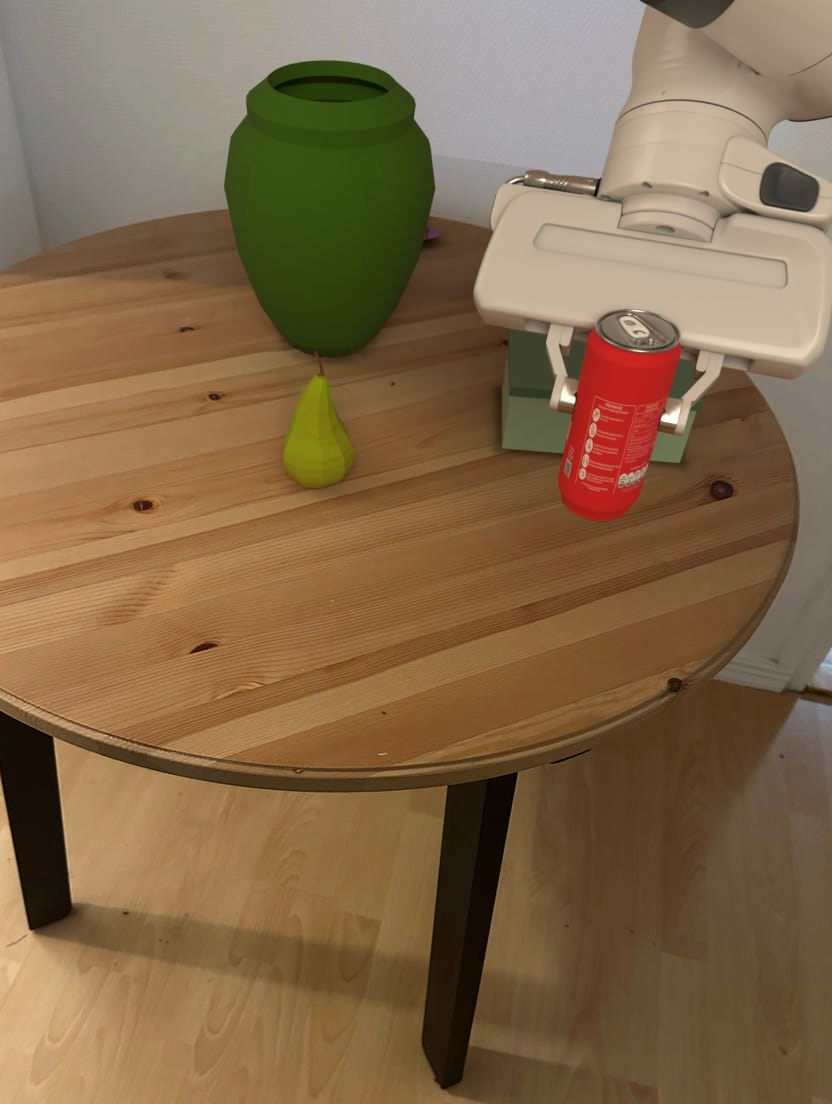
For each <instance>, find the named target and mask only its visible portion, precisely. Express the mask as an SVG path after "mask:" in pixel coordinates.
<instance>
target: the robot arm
mask: <svg viewBox="0 0 832 1104" xmlns="http://www.w3.org/2000/svg"><path fill="white" fill-rule="evenodd" d="M639 2H641V3H642V4H645V5H646V6H645V8H644V11H643V16H642V19H641V23H640V26H639V30H638V33H637V37H636V40H635V45H634V48H633V53H632V59H631V87H630V92H629V94H628V97H627V99H626V101H625V103H624V105H623V106H622V108H621V109H620V111H619V113H618V116H617V118H616V120H615V123H614V126H613V127H614V128H613V131H612V135H611V139H610V143H609V146H608V150H607V155H606V158H605V161H604V166H603V170H602V174H601V175H602V176H601V177H599V178H595V177H587V176H581V175H572V174H565V175H564V174H555V173H549V172H548V171H546V170H541V169H528V170H526V171H525V173H524V174H522V175H516V176H514V177H511V178H509V179H508V180H506V181H505V182H504V183H502V184H501V185H500V187H499V188H498V189H497V191H496V194H495V195H494V199H493V203H492V207H491V212H490V215H489V219H488V220H489V224H488V225H489V230H490V232H491V237H490V239H489V242H488V244H487V247H486V249H485V252H484V255H483V258H482V260H481V264H480V266H479V269H478V272H477V275H476V276H477V277H476V279H475V282H474V286H473V295H472V296H473V302H474V306H475V308H476V310H477V313H478V314H479V316H480V318H481V320H482V321H483V323H485V324H486V325H488V326H489V325H490V326H495V327H500V328H506V329H509V328H510V329H515V330H521V331H526V332H532V333H537V334H542V335H548V336H547V340H546V351H547V356H548V360H549V363H550V366H551V370H552V373H553V377H554V380H555V384H554V388H553V392H552V396H551V400H550V410H553V411H558V412H563V413H568V414H572V413H573V411H574V407H575V402H576V397H575V396H576V393H577V389H578V383H579V380H578V379H574V378H569V377H568V376H567V372H566V369H565V365H564V362H563V358H562V356H569V354H570V350H571V347H572V343H573V340H575V341H580V342H586V343H587V340H588V335H589V334H590V332H591V331H592V330H593V329H594V328H595V323H596V321H597V320H598V319H599V318H600V317H601V316H602V315H604V314H606V313H608V312H611V311H615V310H621V309H636V310H644V311H648V312H652V313H656V314H658V315H661V316H663V317H665V318H667V319H669V320H670V321H672V322H673V323H674V324H675V325H676V326H677V327H678V328H679V330H680V333H681V339H680V345H681V355H680V359H679V360H684V361H689V362H693V363H694V364H693V366H694V369H693V373H692V377H691V378H692V380H695V381H697V382H696V383H695V384H694V385H693V386H692V387H691V388H690V389H689V390H688V391H687V393H686V394H685V395H684V396H683V397H682V398H681V399H679V398H673V397H668V400H667V403H666V406H665V408H664V414H662V416H661V419H660V423H659V426H658V431H659V432H664V433H668V434H673V435H678V436H682V434H683V432H684V429H685V426H686V422H687V418H688V415H689V411H690V408H692V407H693V406H694V405H695V404H696V403H697V401H698V400H699V399H700V398H701V397H702V398H703V397H704V395H706V393H707V392H709V390H710V389H711V388H712V387H713V386H714V385H715V384H716V382H717V380H718V378H719V376H720V374H721V371H722V368H723V369H728V370H733V371H739V372H744V373H750V374H755V375H759V376H760V375H761V376H766V377H770V378H771V377H772V378H777V379H781V380H782V379H783V380H787V381H792V380H797V379H798V378H800V377H801V376H802V375H804V374H806V373H807V372H809V371H810V370H811V369H812V368H813V367H814V366H816V365H817V363H818V362H819V360H820V359H821V358H822V356H823V353H824V350H825V347H826V344H827V342H828V341H827V340H828V338H829V337H828V336H829V332H830V327H831V322H832V240H831V238H830V237H829V236H828V232H829V230H830V228H831V226H832V181H831V180H829V179H828V178H826V177H824V176H821V175H819V174H817V173H815V172H813V171H811V170H809V169H807V168H805V167H803V166H800V165H798V164H797V163H795V162H793V161H791V160H789V159H787V158H785V157H783V156H782V155H779V154H778V153H775V152H774V151H772V150H771V149H769V148H768V145H769V140H770V135H771V132H772V130H773V129H774V128H775V127H776V126H777V125H778V124H779V123H781V122H784V121H789V122H792V123H806V122H814V121H821V120H826V119H830V118H832V0H639ZM521 184H522V185H521Z"/></svg>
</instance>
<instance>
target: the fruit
mask: <svg viewBox="0 0 832 1104" xmlns="http://www.w3.org/2000/svg"><path fill="white" fill-rule="evenodd" d="M314 354H315V355H314V356H315V358H316V361H317V364H318V367H319V372H317V373H315V374H314V375H313V376H312V378H311V379H310V381H309V382H308V384H307V385H305V387H304V389H302V391H301V393H300V395H299V397H298V399H297V401H296V404H295V405H294V409H293V412H292V415H291V419H290V423H289V426H288V429H287V432H286V434H285V436H284V438H283V442H282V462H283V469H284V471H285V473H286V475H287V476H288V477H289V478H290V479H291V480H293V481H294V482H296V483H297V484H298V485H300V486H302V487H303V488H308V489H323V488H325V487H329V486H332V485H334V484H337V483H339V482H341V481H342V480H343V478H344V477H345V476H346V475H347V474H348V473H349V472H350V471H351V470H352V468H353V466H354V463H355V449H354V446H353V442H352V440H351V437H350V433H349V430H348V429H347V427H346V425H345V423H344V422H343V421H342V420H341V418H340V417H339V414H338V412H337V410H336V408H335V405H334V401H333V396H332V392H331V387H330V384H329V382H328V379H327V377H326V375H325V371H324V367H323V364H322V361H321V359H320V358H321V357H320V356H318V354H317V351H315V352H314Z"/></svg>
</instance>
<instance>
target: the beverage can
mask: <svg viewBox="0 0 832 1104" xmlns="http://www.w3.org/2000/svg"><path fill="white" fill-rule="evenodd" d="M680 339H681V333H680V330H679V328H678V327H677V326H676V325H675V324H674V323H673V322H672V321H670V320H669V319H667V318H665V317H663V316H661V315H658V314H656V313H652V312H648V311H644V310H636V309H621V310H615V311H611V312H608V313H606V314H604V315H602V316H601V317H600V318H599V319H598V320H597V321H596V323H595V328H594V329H593V330H592V331H591V332H590V334H589V335H588V340H587V345H586V349H585V354H584V359H583V363H582V368H581V373H580V377H579V383H578V389H577V393H576V396H575V397H576V402H575V407H574V411H573V413H572V415H571V419H570V424H569V429H568V434H567V438H566V443H565V448H564V452H563V453H562V457H561V462H560V467H559V471H558V477H557V486H558V489H559V491H560V499H561V502H562V504H563V506H564V507H565V508H566V509H567V510H568V511H569V512H570V513H571V514H573V515H574V516H577V517H578V518H581V519H584V520H588V521H592V522H597V523H598V522H599V523H605V522H613V521H616V520H619V519H620V518H622V517H624V516H625V515H626V514H627V513H628V512H629V510H630V508H631V507H633V506H634V505H635V504H636V503H637V502H638V500H639V499H640V496H641V492H642V488H643V486H644V482H645V478H646V475H647V472H648V468H649V465H650V462H651V461H650V458H651V455H652V451H653V448H654V444H655V441H656V437H657V434H658V426H659V423H660V419H661V416H662V414H664V408H665V406H666V403H667V400H668V396H669V393H670V390H671V386H672V383H673V379H674V376H675V372H676V369H677V366H678V362H679V359H680V355H681V345H680Z"/></svg>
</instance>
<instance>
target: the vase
mask: <svg viewBox="0 0 832 1104" xmlns="http://www.w3.org/2000/svg"><path fill="white" fill-rule="evenodd" d="M416 106H417V103H416V99H415V97H414V96H413V95H412V93H410V92H409V91H408V90H407V89H406V88H405V87H404V86H402V84H400V83H399V81H397V80H396V79H395V78H394V77H393V76H392V75H391V74H389V73H388V72H386V71H385V70H383V69H381V68H378V67H375V66H372V65H369V64H364V63H360V62H353V61H347V60H335V59H334V60H333V59H332V60H331V59H329V60H328V59H327V60H326V59H321V60H320V59H319V60H317V59H316V60H307V61H305V60H304V61H298V62H294V63H289V64H286V65H283V66H280V67H277V68H276V69H274V70H273V71H271V72H270V73H269V74H268V75H267V76H266V77H264V78H263V79H262V80H261V81H260V82H259V83H257V84H255V86H254V87H252V88H251V89H250V90H249V91H248V93H247V95H246V97H245V107H246V115H244V117H243V118H242V120H241V121H240V122H239V124H238V125H237V127H236V128H235V129H234V131H233V132H232V134H231V135H230V138H229V146H228V153H227V160H226V165H225V166H226V167H225V174H224V180H223V181H224V182H223V189H224V194H225V199H226V203H227V208H228V213H229V217H230V222H231V227H232V231H233V236H234V240H235V246H236V250H237V253H238V255H239V258H240V261H241V263H242V266H243V268H244V270H245V274H246V275H247V277H248V278H247V279H248V280H249V282H250V285H251V287H252V290H253V293H254V294H255V297H256V299H257V302H258V304H259V306H260V307H261V308H262V310H263V312H264V314H265V315H266V316H267V318H268V319H269V321H270V322H271V324H272V325H273V327H274V328H275V329H276V330H277V332H278V333H279V334H280V335H281V336H282V337H283V338H284V339H285V340H286V341H287V342H288V343H289V344H290V345H291V346H293V348H295V349H297V350H298V351H301V352H303V353H306V354H308V355H313V356H315V354H314V352H315V351H317V354H318V356H319V357H341V356H345V355H349V354H353V353H355V352H358V351H359V350H361V349H363V348H364V347H365V346H366V345H367V344H369V343H370V341H372V340H373V339H374V338H375V337H376V336H377V335H378V334H379V333H380V331H381V330H382V329H383V327H384V326H385V324H386V323H387V322H388V320H389V319H390V318H391V316H392V315H393V314H394V312H395V310H396V309H397V308H398V306H399V305H400V302H401V300H402V297H403V296H404V294H405V292H406V289H407V287H408V284H409V282H410V279H411V277H412V276H413V273H414V271H415V269H416V267H417V264H418V262H419V260H420V256H421V252H422V248H423V243H424V241H423V239H424V235H425V231H426V227H427V223H428V222H429V218H430V214H431V209H432V206H433V201H434V198H435V193H436V182H435V174H434V164H433V156H432V147H431V143H430V139H429V138H428V136H427V135H426V134H425V132H424V131H423V129H422V128H421V126H420V125H419V124H418V122H417V121H416V118H415V113H416ZM428 224H429V223H428Z"/></svg>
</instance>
